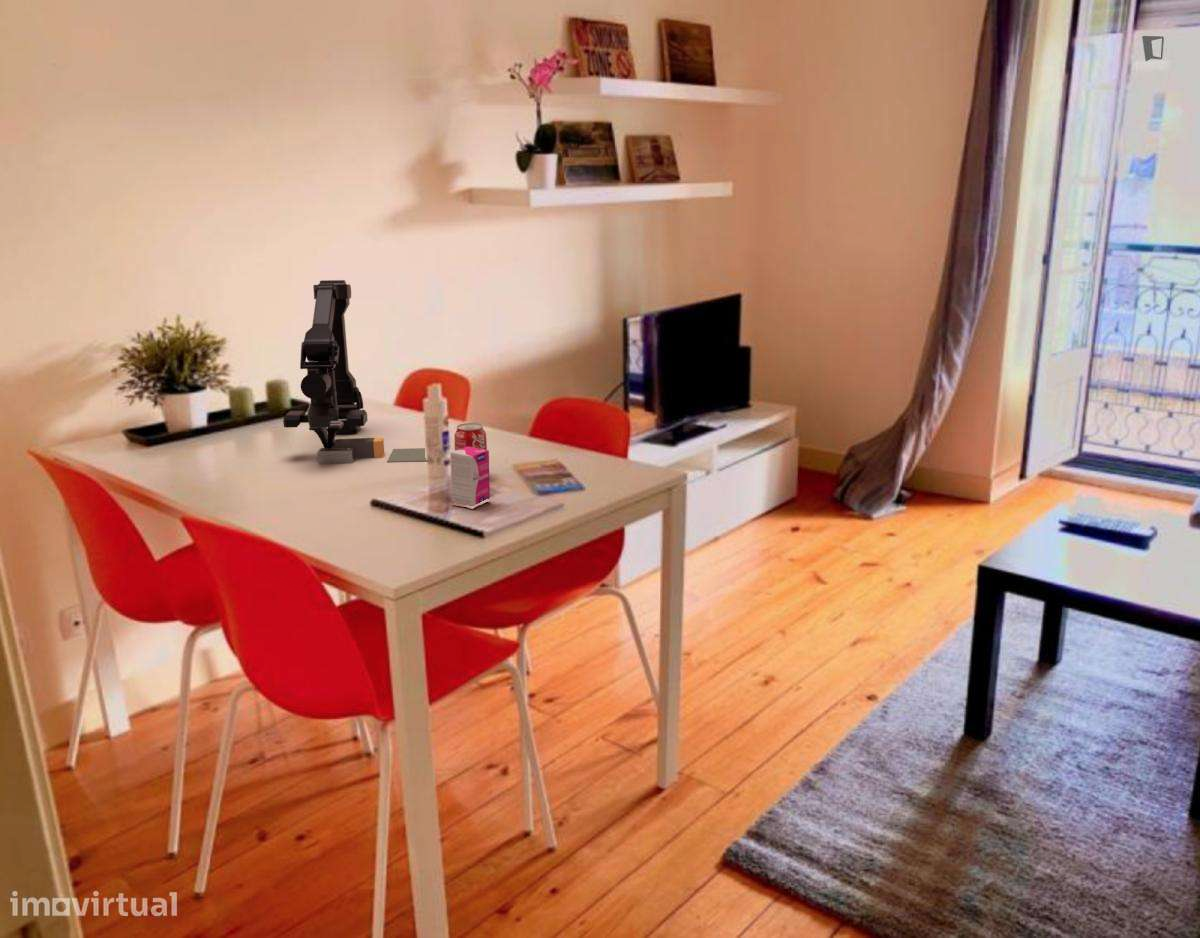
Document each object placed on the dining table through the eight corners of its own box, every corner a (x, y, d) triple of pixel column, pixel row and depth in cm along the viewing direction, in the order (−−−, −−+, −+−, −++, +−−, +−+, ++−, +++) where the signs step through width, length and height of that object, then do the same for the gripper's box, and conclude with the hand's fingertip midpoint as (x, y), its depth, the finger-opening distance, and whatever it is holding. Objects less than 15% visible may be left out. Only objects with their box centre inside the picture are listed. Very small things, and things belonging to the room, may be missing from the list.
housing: (327, 451, 238) (326, 438, 237) (360, 450, 238) (359, 437, 237) (318, 463, 227) (317, 450, 226) (352, 462, 228) (351, 449, 227)
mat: (393, 449, 239) (393, 448, 238) (438, 448, 239) (438, 447, 239) (386, 462, 228) (386, 461, 228) (433, 461, 229) (433, 460, 229)
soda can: (491, 473, 219) (488, 422, 215) (484, 483, 212) (482, 430, 209) (460, 472, 220) (457, 421, 216) (452, 482, 213) (450, 429, 209)
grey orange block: (338, 454, 234) (336, 439, 233) (384, 453, 236) (383, 437, 234) (336, 459, 231) (334, 443, 230) (383, 457, 232) (381, 441, 231)
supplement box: (473, 510, 195) (471, 456, 192) (451, 505, 198) (448, 452, 195) (491, 502, 200) (489, 449, 196) (469, 497, 203) (466, 445, 199)
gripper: (274, 397, 219) (280, 463, 224) (357, 396, 220) (362, 461, 225) (286, 387, 230) (292, 450, 235) (365, 386, 231) (370, 449, 236)
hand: (328, 453), depth 232 cm, fingers closed
